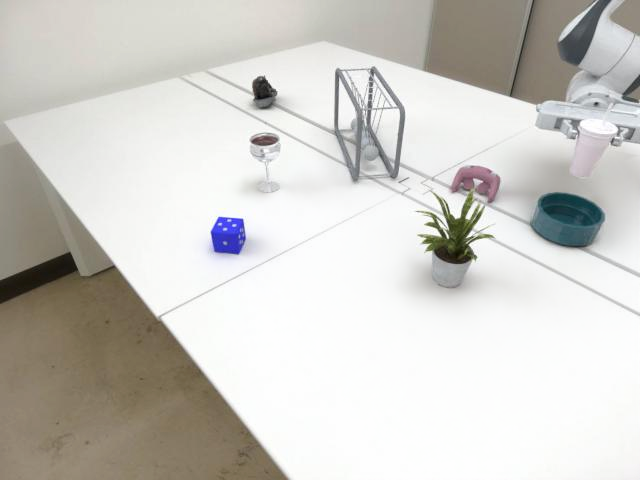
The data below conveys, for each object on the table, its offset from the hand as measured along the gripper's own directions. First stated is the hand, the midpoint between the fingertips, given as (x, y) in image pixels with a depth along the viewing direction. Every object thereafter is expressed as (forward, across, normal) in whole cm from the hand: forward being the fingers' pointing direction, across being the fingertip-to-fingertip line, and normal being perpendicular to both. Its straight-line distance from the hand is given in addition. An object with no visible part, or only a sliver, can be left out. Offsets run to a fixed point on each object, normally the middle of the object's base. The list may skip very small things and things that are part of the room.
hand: (594, 139), depth 83 cm
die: (+32, -60, +19) cm, 71 cm away
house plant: (+24, -20, +19) cm, 37 cm away
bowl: (+2, 0, +19) cm, 19 cm away
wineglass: (+10, -63, +19) cm, 67 cm away
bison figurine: (-33, -86, +19) cm, 94 cm away
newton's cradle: (-14, -48, +19) cm, 53 cm away
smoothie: (-1, 0, +8) cm, 8 cm away
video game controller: (-5, -18, +19) cm, 27 cm away
